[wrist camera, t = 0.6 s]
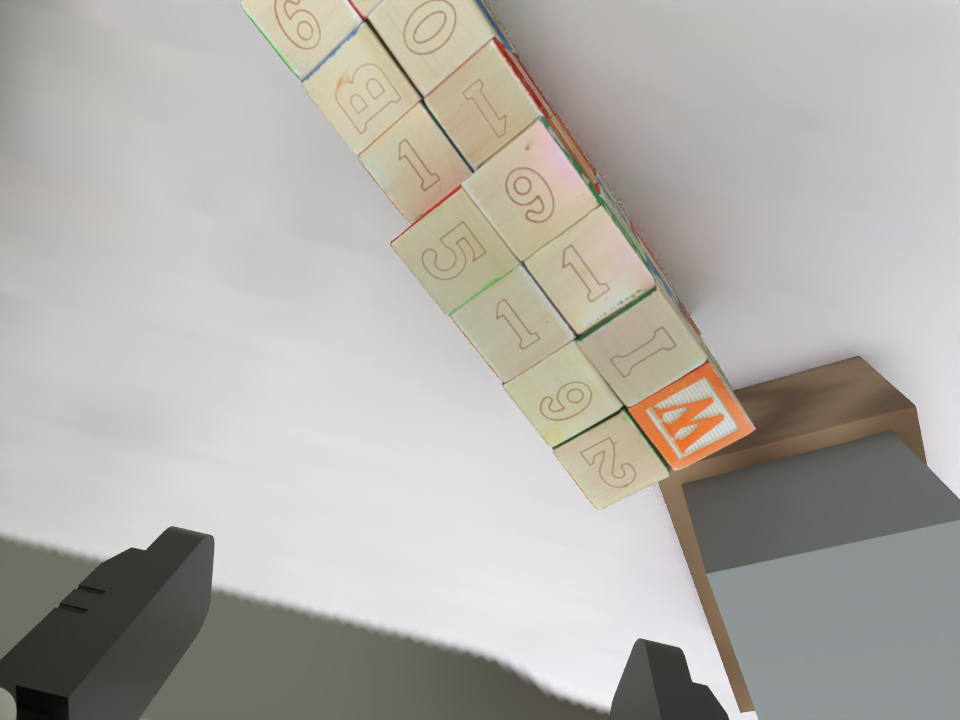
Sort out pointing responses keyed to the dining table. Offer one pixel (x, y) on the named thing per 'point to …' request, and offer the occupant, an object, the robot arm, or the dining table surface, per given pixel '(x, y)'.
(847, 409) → the tower base block
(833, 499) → the tower top block
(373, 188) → the dining table surface
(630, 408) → the stack of blocks
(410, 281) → the dining table surface
